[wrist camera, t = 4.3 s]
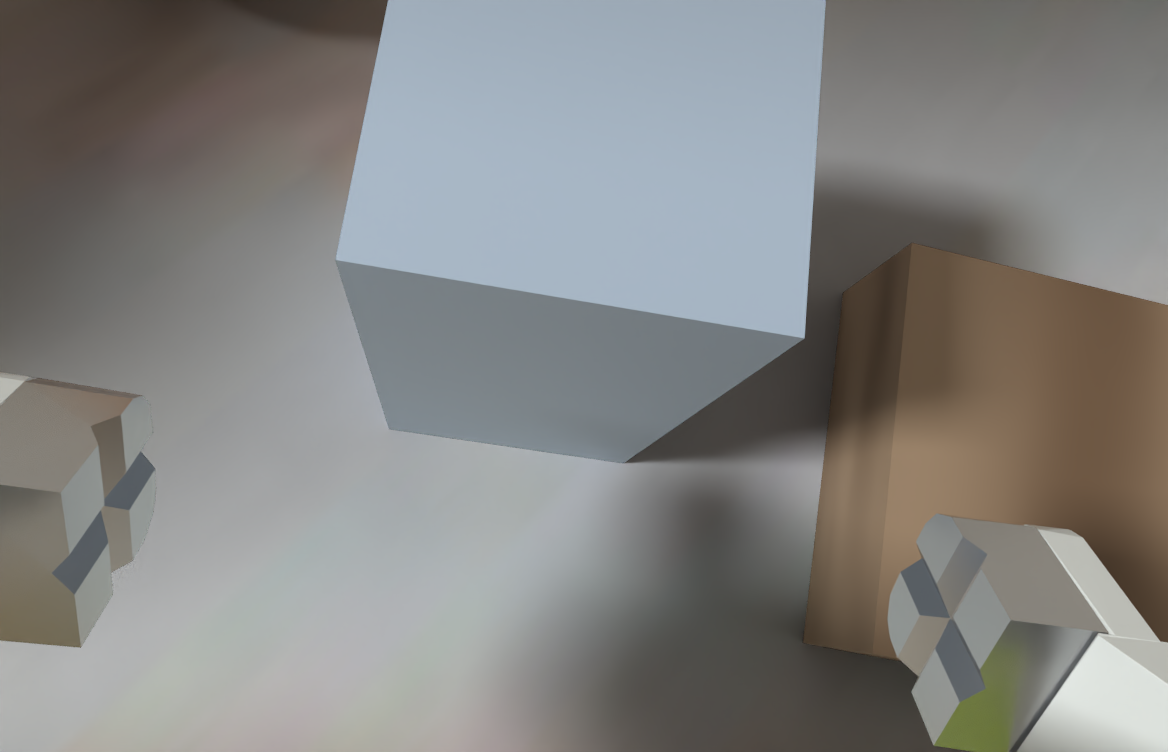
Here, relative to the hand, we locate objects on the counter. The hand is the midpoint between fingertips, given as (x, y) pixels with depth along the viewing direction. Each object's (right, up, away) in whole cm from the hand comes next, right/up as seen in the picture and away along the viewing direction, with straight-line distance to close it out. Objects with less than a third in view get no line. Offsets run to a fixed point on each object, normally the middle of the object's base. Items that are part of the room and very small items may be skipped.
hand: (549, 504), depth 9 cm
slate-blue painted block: (-1, +2, +10) cm, 10 cm away
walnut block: (+10, -1, +11) cm, 15 cm away
